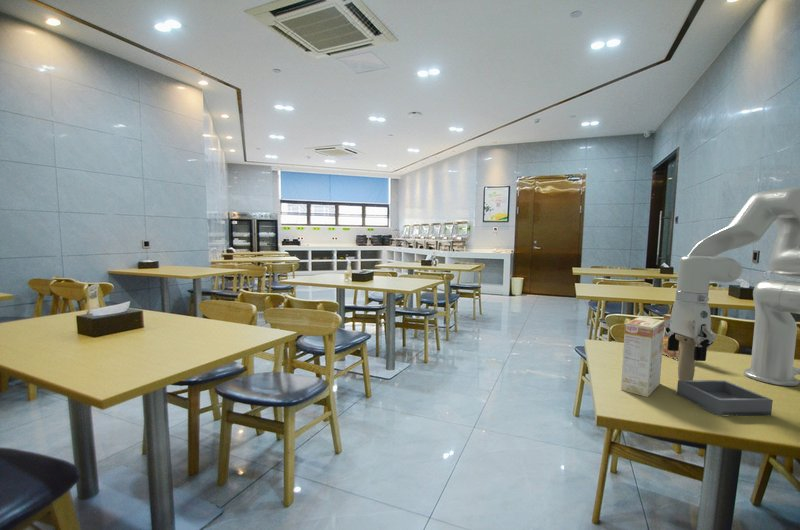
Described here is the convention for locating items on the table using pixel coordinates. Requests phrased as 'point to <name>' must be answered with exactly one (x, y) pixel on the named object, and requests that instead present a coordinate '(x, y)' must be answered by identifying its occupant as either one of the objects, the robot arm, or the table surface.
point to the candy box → (665, 343)
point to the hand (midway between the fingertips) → (685, 355)
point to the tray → (724, 398)
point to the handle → (686, 358)
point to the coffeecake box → (642, 355)
